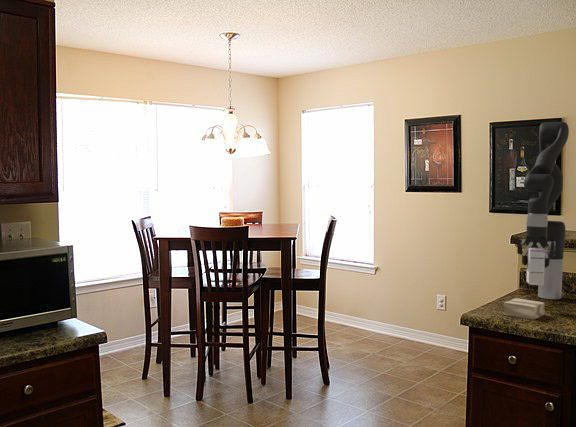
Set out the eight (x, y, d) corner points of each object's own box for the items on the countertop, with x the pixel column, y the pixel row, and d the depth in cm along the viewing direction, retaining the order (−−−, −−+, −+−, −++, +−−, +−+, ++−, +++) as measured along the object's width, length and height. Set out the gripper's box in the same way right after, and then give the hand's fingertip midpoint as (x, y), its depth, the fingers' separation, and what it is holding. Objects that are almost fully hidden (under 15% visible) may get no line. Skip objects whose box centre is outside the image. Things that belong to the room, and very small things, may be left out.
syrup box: (544, 285, 227) (546, 248, 226) (528, 284, 228) (529, 248, 227) (541, 282, 232) (542, 246, 231) (525, 281, 234) (526, 246, 232)
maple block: (515, 310, 229) (515, 298, 229) (544, 315, 222) (544, 302, 221) (503, 315, 221) (504, 302, 221) (533, 320, 214) (533, 307, 213)
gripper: (559, 225, 227) (557, 267, 228) (521, 222, 236) (519, 263, 237) (553, 227, 221) (552, 269, 222) (515, 224, 230) (513, 265, 231)
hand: (535, 266), depth 230 cm, fingers closed on syrup box, 7 cm apart
